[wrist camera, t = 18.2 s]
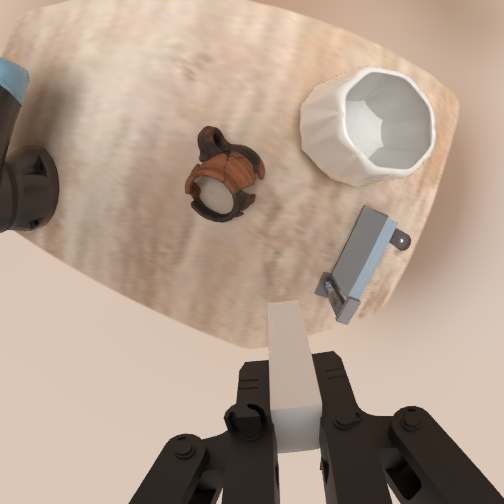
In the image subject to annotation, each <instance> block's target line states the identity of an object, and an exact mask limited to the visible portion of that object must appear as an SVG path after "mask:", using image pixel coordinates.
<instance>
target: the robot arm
mask: <svg viewBox="0 0 504 504" xmlns="http://www.w3.org/2000/svg"><path fill="white" fill-rule="evenodd" d="M28 84H29V74H28V72H27V70H26V69H24V68H23V67H21V66H19V65H17V64H15V63H13V62H11V61H8V60H6V59H4V58H1V57H0V233H2V232H4V231H6V230H19V231H32V230H35V229H37V228H40V227H42V226H44V225H45V224H46V223H47V222H48V221H49V220H50V219H51V217H52V215H53V213H54V211H55V208H56V205H57V200H58V191H59V185H58V175H57V171H56V167H55V164H54V162H53V160H52V158H51V156H50V155H49V154H48V153H47V151H45V150H44V149H43V148H41V147H38V146H26V147H22V148H19V149H18V150H16V151H14V152H12V153H11V154H9V155H7V156H6V153H7V149H8V146H9V142H10V138H11V135H12V131H13V128H14V125H15V122H16V119H17V116H18V113H19V110H20V107H21V106H22V104H23V98H24V95H25V92H26V89H27V86H28ZM267 317H268V347H269V360H265V361H252V362H245V363H244V365H243V366H242V368H241V369H240V371H239V382H238V391H237V401H236V404H235V405H233V406H231V407H230V408H229V409H228V410H227V411H226V413H225V416H224V420H225V423H226V426H227V429H228V430H227V431H226V432H224V433H223V434H220V435H217V436H214V437H210V438H207V439H202V440H201V439H200V438H199V437H197V436H195V435H193V434H181V435H177V436H175V437H173V438H171V439H170V440H169V441H168V442H167V443H166V445H165V446H164V448H163V450H162V451H161V453H160V454H159V456H158V458H157V459H156V461H155V462H154V464H153V466H152V467H151V469H150V470H149V472H148V474H147V475H146V477H145V479H144V480H143V482H142V483H141V485H140V487H139V488H138V490H137V491H136V493H135V494H134V496H133V497H132V499H131V501H130V502H129V504H216V502H217V500H218V497H219V495H220V493H221V490H222V488H223V494H222V504H280V490H279V466H278V456H277V454H278V453H289V452H298V451H306V450H314V449H319V448H320V449H321V463H320V470H322V474H323V481H324V489H325V496H326V504H392V500H391V497H390V493H389V490H388V486H387V484H388V485H389V487H390V488H391V490H392V491H393V493H394V494H395V496H396V497H397V499H398V500H399V502H400V503H401V504H504V498H503V497H502V496H501V494H500V493H499V492H498V491H497V490H496V489H495V488H494V486H493V485H492V484H491V483H490V482H489V480H488V479H487V478H486V477H485V476H484V475H483V474H482V472H481V471H480V470H479V469H478V468H477V467H476V466H475V464H474V463H473V462H472V461H471V460H470V459H469V458H468V457H467V455H466V454H465V453H464V452H463V451H462V450H461V449H460V448H459V446H458V445H457V444H456V443H455V442H454V441H453V440H452V439H451V438H450V437H449V436H448V434H447V433H446V432H445V431H444V430H443V429H442V428H441V426H440V425H439V424H438V423H437V422H436V421H435V420H434V419H433V418H432V417H431V415H429V413H428V412H427V411H425V410H424V409H422V408H420V407H416V406H407V407H404V408H401V409H400V410H398V411H397V412H396V413H395V414H394V416H374V415H370V414H367V413H365V412H364V411H362V410H361V409H360V408H359V407H358V405H357V403H356V400H355V397H354V394H353V391H352V389H351V385H350V382H349V379H348V377H347V374H346V371H345V369H344V365H343V362H342V359H341V358H340V357H339V356H338V355H337V354H336V353H335V352H334V351H330V352H323V353H317V354H311V351H310V347H309V342H308V338H307V334H306V330H305V325H304V321H303V317H302V313H301V309H300V305H299V301H298V300H291V301H283V302H274V303H267Z"/></svg>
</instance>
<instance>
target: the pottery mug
mask: <svg viewBox="0 0 504 504" xmlns="http://www.w3.org/2000/svg"><path fill="white" fill-rule="evenodd" d="M197 141H198V147H199V149H200V156H199V160H200V161H201V162H204V163H202V165H201V166H200V165H199V164H196V166H195V167H194V168H193V170H192V172H191V174H190V176H189V177H188V179H187V181H186V184H185V192H186V194H190V193H191V195H192V197H193V199H194V201H192V202H191V206H192V208H193V209H194V210H195V211H196V212H197V213H198V214H199V215H201V216H202V217H204V218H206V219H208V220H211V221H214V222H227V221H230V220H232V219H233V218H235V217H239V216H241V215H243V214H244V213H243V212H240V211H242V210H244V209H246V208H248V207H249V205H250V204H252V203H253V202H254V200H255V197H256V195H255V194H251V195H250V194H248V193H245V192H244V191H242V190H241V189H243V188H246V187H248V186H250V185H253V184H254V182H255V180H256V176H255V172H256V171H257V170H258V174H259V178H260V179H263V178H264V173H265V169H264V165H263V162H262V161H261V159H260V157H259V156H258V155H257V154H256V152H254V151H253V150H252V149H250V148H248V147H246V146H243V145H234V144H230V143H229V142H227V141H226V139H225V138H224V137H223V135H222V133H221V131H220V130H219V129H218V128H216V127H212V126H206V127H204V128H203V130H202V131H201V132H200V133H199V134H198V139H197ZM225 152H229V155H227V154H225ZM200 176H210V177H213V178H215V179H218V180H219V181H221V182H222V183H224V185H225V186H226V187H227V188H228V189H229V191H230V192H231V194H232V195H233V201H234V206H233V209H232V211H231V212H229V213H227V214H219V213H217V212H215V211H212V210H211V209H209V208H207V207H206V206H205V205H204V204H203V202H202V201H201V199H200V198H199V194H200V188H199V186H198V185H197V184H196V183H195V182H194V181H195V179H196V178H198V177H200Z"/></svg>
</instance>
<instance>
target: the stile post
mask: <svg viewBox="0 0 504 504" xmlns="http://www.w3.org/2000/svg"><path fill="white" fill-rule="evenodd" d="M370 209H371V208H370ZM372 210H373V209H372ZM374 211H375V210H374ZM376 212H378V211H376ZM378 213H380V212H378ZM380 214H382V215H384V216H386V217H388V216H387V215H385V214H383V213H380ZM389 242H390V243H391V244H392V245H394V246H395V247H396V248H398V249H399V250H401V251H404V250H406V249H408V248H409V246H410V244H411V238H410V236H409V235H407V234H406V233H404V232H402V231H401V230H399V229H397V228H395V230H394V233H393V235H392V237H391V239H390V241H389Z"/></svg>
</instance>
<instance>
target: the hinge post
mask: <svg viewBox="0 0 504 504" xmlns="http://www.w3.org/2000/svg"><path fill="white" fill-rule="evenodd" d="M340 290H341V289H340V287H339V285H338V284H337V282H336V280H335V278H334V277H333V275H332V274H329V273H325V272H323V275H322V277H321V279H320V282H319V284H318V286H317V289H316V291H315V294H317V295H320V296H324V297H327V298H328V299H329V301H330V303H331V306H332V308H333V310H334V312H335V315H336V316H337V314H338V313H339V311H340V309H341V308H342V306H343V304H344V302H345V299H344V297H343V295H342V293H341V292H340Z"/></svg>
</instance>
